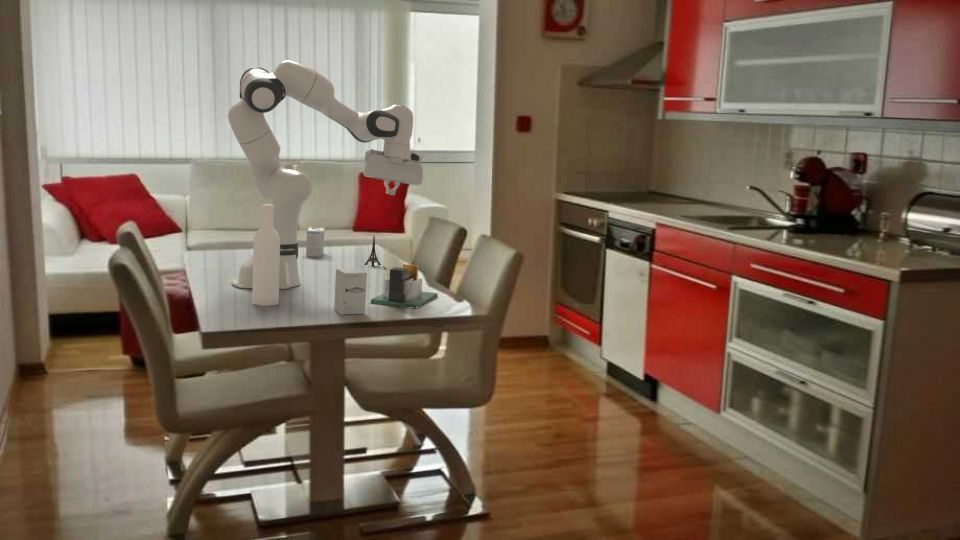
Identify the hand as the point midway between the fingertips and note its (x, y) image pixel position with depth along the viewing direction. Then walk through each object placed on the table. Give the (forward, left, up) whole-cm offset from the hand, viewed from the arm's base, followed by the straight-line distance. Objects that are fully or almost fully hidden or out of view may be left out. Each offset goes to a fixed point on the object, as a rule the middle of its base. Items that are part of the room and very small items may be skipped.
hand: (390, 194), depth 291 cm
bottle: (-45, -20, -33) cm, 59 cm away
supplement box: (-23, -35, -33) cm, 53 cm away
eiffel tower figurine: (+9, +44, -33) cm, 56 cm away
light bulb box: (-8, +72, -33) cm, 79 cm away
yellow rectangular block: (-1, -21, -29) cm, 36 cm away
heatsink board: (0, -20, -32) cm, 38 cm away
